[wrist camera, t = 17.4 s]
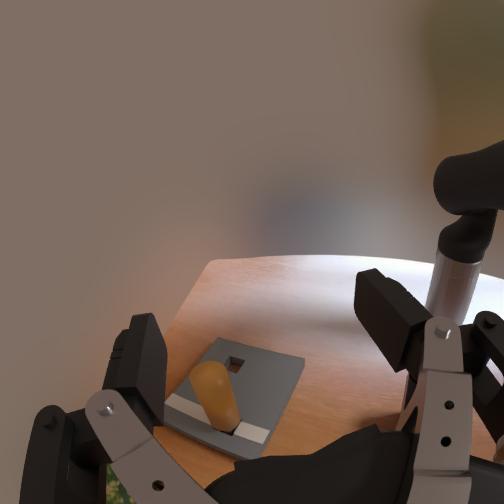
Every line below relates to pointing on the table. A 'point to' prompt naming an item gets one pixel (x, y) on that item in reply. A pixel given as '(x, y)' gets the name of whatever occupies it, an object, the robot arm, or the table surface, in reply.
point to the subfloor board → (239, 399)
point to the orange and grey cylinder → (216, 395)
